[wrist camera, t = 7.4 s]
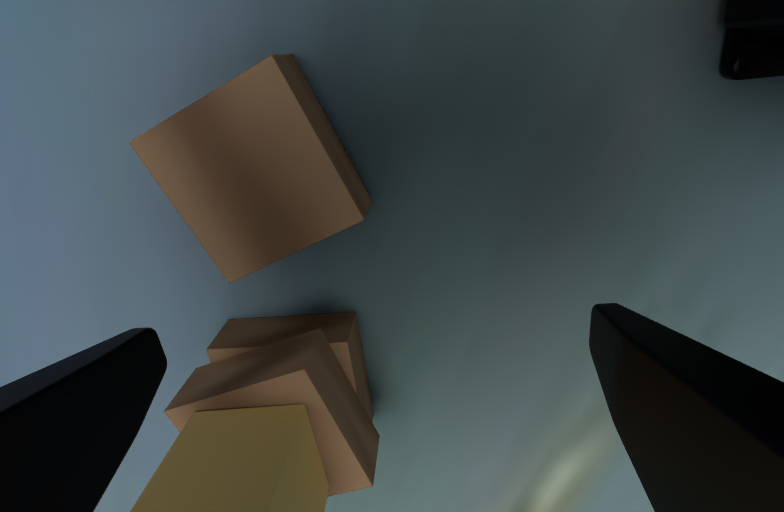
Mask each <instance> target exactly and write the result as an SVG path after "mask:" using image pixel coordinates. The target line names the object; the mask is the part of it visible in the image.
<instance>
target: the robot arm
mask: <svg viewBox="0 0 784 512" xmlns="http://www.w3.org/2000/svg"><path fill="white" fill-rule="evenodd" d="M724 22H725V24H726V25H727V31H726V37H725V43H724V49H723V55H722V61H721V67H720V69H721V74H722V76H723V77H725V78H726V79H732V80H744V79H753V78H763V77H773V76H782V75H784V0H728V1H727V7H726V13H725V19H724ZM739 59H740V60H741V62H742V65H741V68H740V69H739V70H738V71H737V72H735V71H734V68H733V66H734V64H735V63H736V62H737V61H738V60H739ZM589 346H590V352H591V355H592V359H593V362H594V365H595V368H596V371H597V374H598V377H599V380H600V383H601V386H602V389H603V392H604V396H605V399H606V402H607V405H608V408H609V411H610V414H611V417H612V419H613V422H614V425H615V427H616V429H617V432H618V434H619V436H620V438H621V440H622V442H623V445H624V447H625V449H626V451H627V453H628V455H629V457H630V460H631V462H632V464H633V466H634V468H635V470H636V473H637V475H638V477H639V479H640V481H641V483H642V485H643V488H644V490H645V492H646V494H647V496H648V498H649V500H650V503H651V505H652V507H653V509H654V511H655V512H784V382H782V381H780V380H778V379H775V378H773V377H771V376H769V375H767V374H765V373H763V372H761V371H759V370H756V369H754V368H752V367H750V366H748V365H746V364H744V363H742V362H740V361H737V360H735V359H733V358H731V357H729V356H727V355H725V354H723V353H721V352H718V351H716V350H714V349H712V348H710V347H708V346H706V345H704V344H702V343H699V342H697V341H695V340H693V339H691V338H689V337H687V336H685V335H683V334H680V333H678V332H676V331H674V330H672V329H670V328H668V327H666V326H664V325H661V324H659V323H657V322H655V321H653V320H651V319H649V318H647V317H645V316H642V315H640V314H638V313H636V312H634V311H632V310H630V309H628V308H626V307H624V306H621V305H619V304H617V303H606V304H596V305H594V306H593V308H592V312H591V324H590V337H589ZM166 368H167V359H166V356H165V353H164V351H163V348H162V345H161V343H160V340H159V338H158V335H157V333H156V331H155V330H154V329H152V328H134V329H130V330H128V331H126V332H123V333H121V334H119V335H117V336H114V337H112V338H110V339H108V340H105V341H103V342H101V343H99V344H96V345H94V346H92V347H90V348H87V349H85V350H83V351H81V352H78V353H76V354H74V355H72V356H69V357H67V358H65V359H63V360H60V361H58V362H56V363H54V364H51V365H49V366H47V367H45V368H43V369H40V370H38V371H36V372H34V373H31V374H29V375H27V376H25V377H22V378H20V379H18V380H16V381H13V382H11V383H9V384H7V385H4V386H2V387H0V512H94V510H95V508H96V506H97V505H98V503H99V501H100V499H101V498H102V496H103V494H104V492H105V490H106V489H107V487H108V485H109V483H110V482H111V480H112V478H113V476H114V475H115V473H116V471H117V469H118V468H119V466H120V464H121V462H122V461H123V459H124V457H125V455H126V453H127V452H128V450H129V448H130V446H131V445H132V443H133V441H134V439H135V437H136V435H137V433H138V431H139V429H140V427H141V425H142V423H143V421H144V419H145V416H146V414H147V412H148V410H149V407H150V405H151V403H152V401H153V398H154V396H155V394H156V392H157V389H158V387H159V385H160V383H161V381H162V378H163V376H164V374H165V371H166Z"/></svg>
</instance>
